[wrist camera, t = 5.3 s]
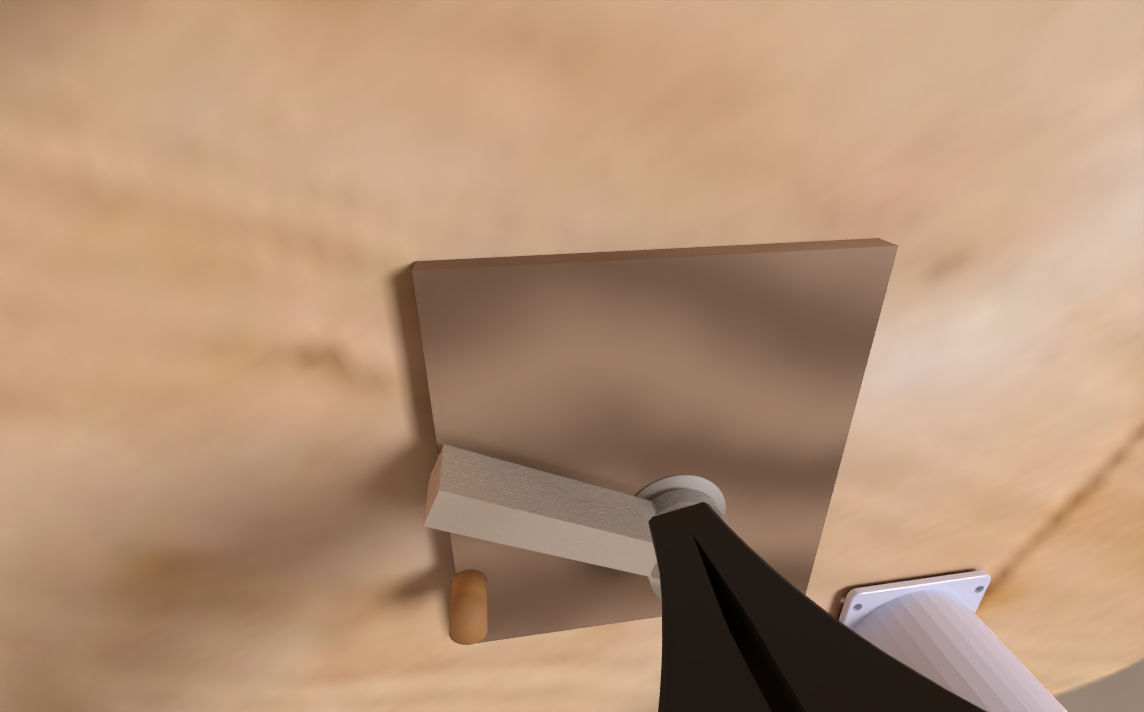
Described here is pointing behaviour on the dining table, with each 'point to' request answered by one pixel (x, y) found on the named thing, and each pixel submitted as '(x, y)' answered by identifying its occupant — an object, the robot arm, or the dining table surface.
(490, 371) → the base board
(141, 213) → the dining table surface
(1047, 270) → the dining table surface
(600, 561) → the cap handle
